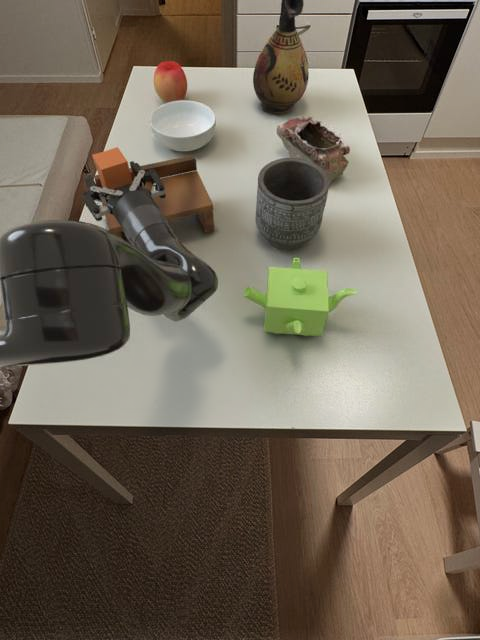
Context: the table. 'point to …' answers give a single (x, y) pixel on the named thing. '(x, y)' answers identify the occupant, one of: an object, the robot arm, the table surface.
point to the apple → (170, 81)
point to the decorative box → (315, 144)
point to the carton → (112, 168)
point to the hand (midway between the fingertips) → (111, 172)
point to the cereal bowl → (183, 125)
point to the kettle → (296, 300)
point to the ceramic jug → (282, 64)
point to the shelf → (175, 193)
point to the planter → (291, 201)
